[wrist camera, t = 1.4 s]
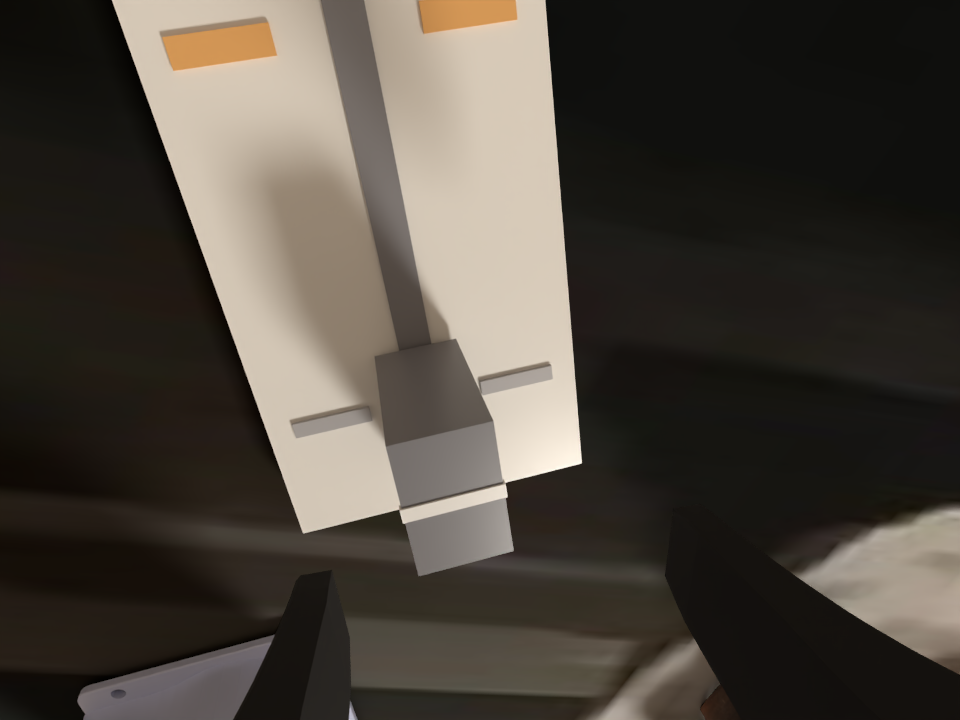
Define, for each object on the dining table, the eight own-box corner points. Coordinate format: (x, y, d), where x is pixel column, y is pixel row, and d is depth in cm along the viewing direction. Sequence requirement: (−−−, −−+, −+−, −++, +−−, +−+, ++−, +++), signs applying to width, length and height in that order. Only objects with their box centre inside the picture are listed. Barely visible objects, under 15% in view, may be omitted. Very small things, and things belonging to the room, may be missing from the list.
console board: (306, 497, 22) (302, 535, 20) (18, -341, 12) (-41, -420, 10) (563, 434, 23) (582, 465, 21) (487, -370, 13) (511, -445, 12)
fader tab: (399, 464, 19) (417, 578, 15) (372, 356, 18) (383, 448, 13) (476, 446, 20) (516, 551, 15) (457, 338, 18) (496, 421, 14)
